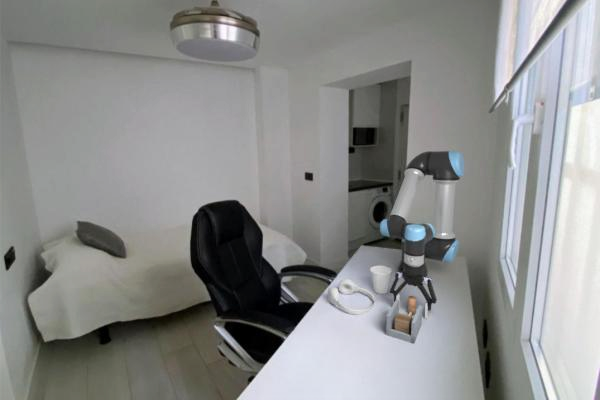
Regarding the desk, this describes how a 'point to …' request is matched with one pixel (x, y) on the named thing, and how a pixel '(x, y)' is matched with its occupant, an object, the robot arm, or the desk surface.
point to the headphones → (347, 289)
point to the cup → (380, 278)
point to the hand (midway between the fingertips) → (411, 313)
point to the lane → (414, 328)
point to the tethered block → (406, 317)
